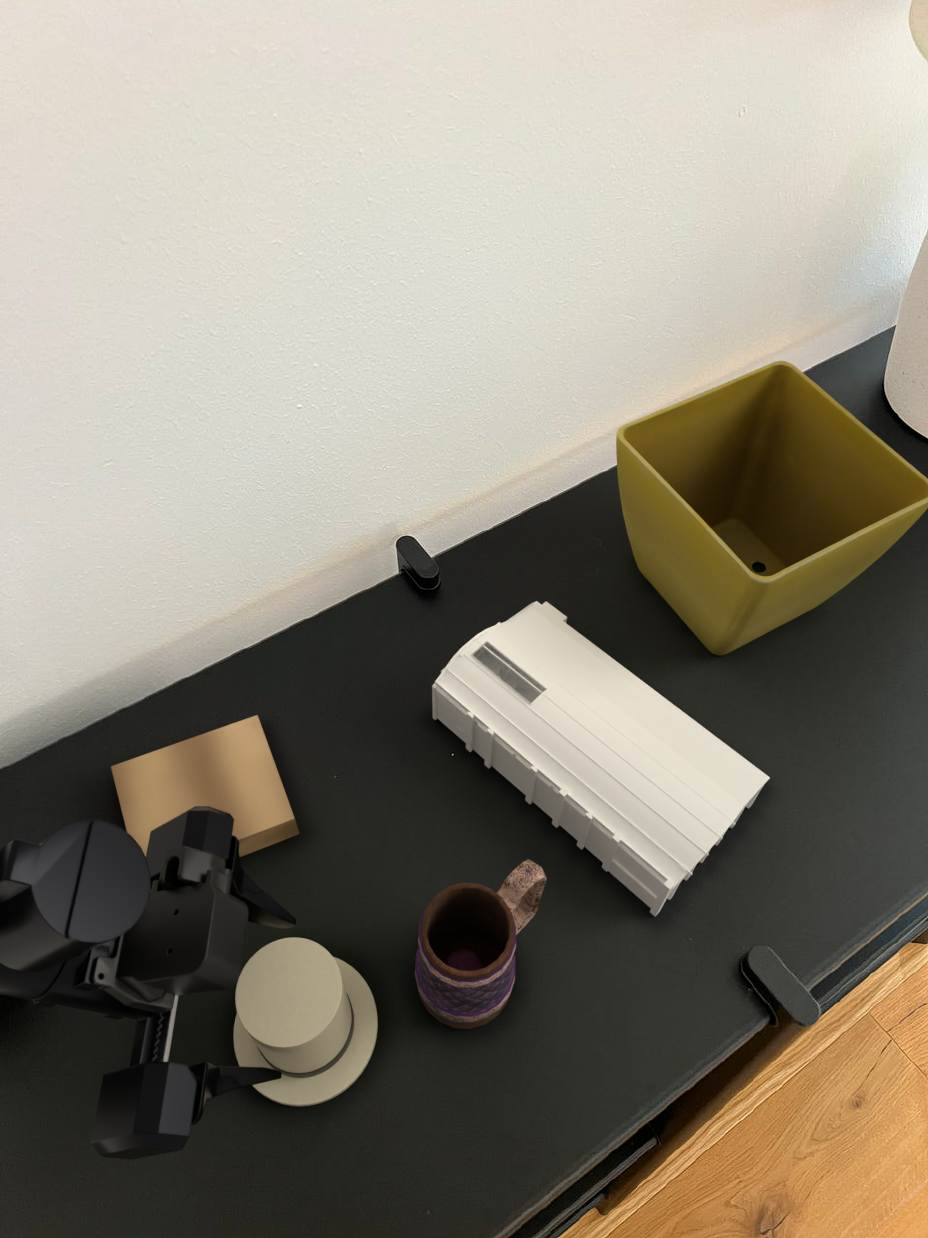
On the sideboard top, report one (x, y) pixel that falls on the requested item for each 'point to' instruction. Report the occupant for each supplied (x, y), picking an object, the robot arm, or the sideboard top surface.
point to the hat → (303, 1021)
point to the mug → (474, 946)
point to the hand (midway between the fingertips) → (285, 996)
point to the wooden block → (209, 786)
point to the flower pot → (759, 502)
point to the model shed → (595, 749)
